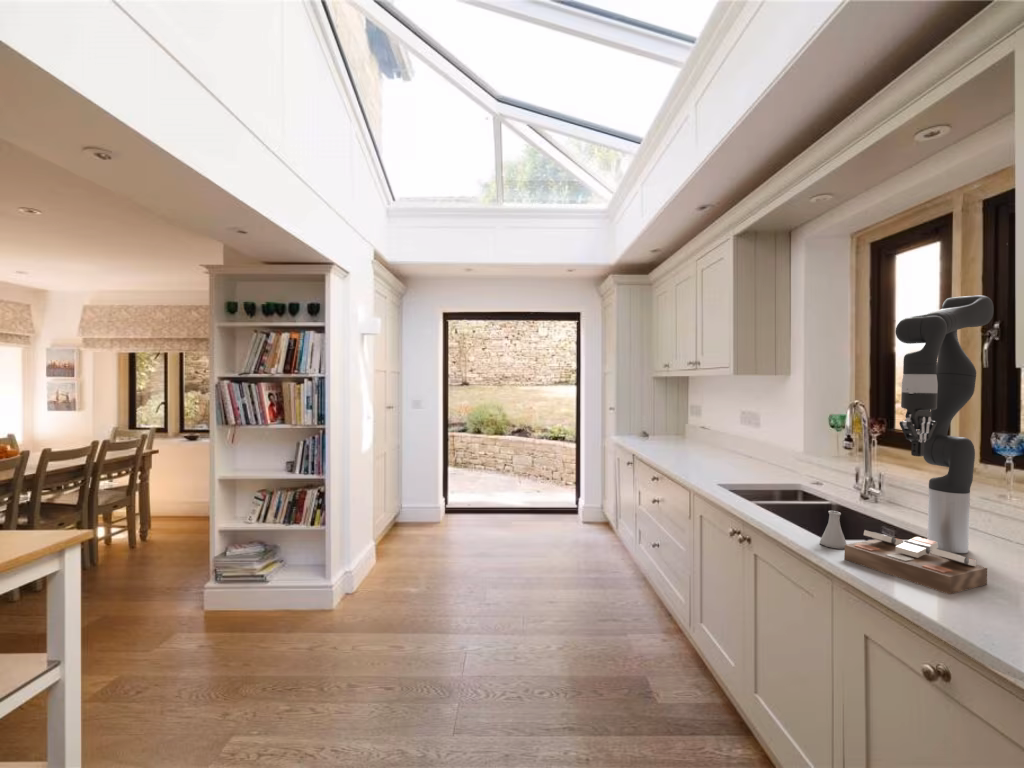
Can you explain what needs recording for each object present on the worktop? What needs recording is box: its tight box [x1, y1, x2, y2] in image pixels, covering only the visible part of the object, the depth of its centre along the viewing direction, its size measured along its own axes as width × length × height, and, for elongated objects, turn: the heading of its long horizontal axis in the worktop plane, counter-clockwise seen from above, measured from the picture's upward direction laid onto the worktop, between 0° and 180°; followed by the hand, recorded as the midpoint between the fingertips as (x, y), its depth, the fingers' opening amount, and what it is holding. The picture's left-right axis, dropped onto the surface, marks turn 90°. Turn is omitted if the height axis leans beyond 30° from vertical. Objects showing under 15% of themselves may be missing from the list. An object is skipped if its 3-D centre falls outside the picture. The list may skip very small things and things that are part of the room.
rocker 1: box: [863, 529, 904, 545], centre depth 138 cm, size 9×5×2 cm, turn 114°
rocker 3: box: [931, 548, 977, 566], centre depth 123 cm, size 9×5×2 cm, turn 114°
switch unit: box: [844, 539, 988, 595], centre depth 130 cm, size 16×24×4 cm, turn 24°
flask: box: [819, 510, 848, 550], centre depth 150 cm, size 7×7×10 cm
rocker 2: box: [895, 536, 938, 558], centre depth 131 cm, size 9×5×2 cm, turn 114°
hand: (917, 455), depth 135 cm, fingers closed
